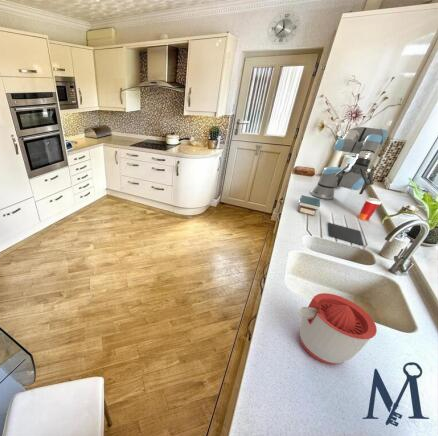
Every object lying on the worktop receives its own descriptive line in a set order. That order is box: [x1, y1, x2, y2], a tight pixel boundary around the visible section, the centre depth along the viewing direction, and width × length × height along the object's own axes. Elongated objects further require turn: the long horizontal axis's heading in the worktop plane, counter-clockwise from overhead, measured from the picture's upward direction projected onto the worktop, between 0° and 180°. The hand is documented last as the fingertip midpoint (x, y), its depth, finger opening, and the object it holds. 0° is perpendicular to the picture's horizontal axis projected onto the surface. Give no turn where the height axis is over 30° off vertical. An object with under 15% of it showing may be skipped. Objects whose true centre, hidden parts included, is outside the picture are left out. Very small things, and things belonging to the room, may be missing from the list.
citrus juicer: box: [298, 292, 377, 365], centre depth 72 cm, size 16×17×20 cm
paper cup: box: [357, 197, 382, 221], centre depth 154 cm, size 8×8×14 cm
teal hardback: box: [298, 194, 321, 211], centre depth 163 cm, size 14×12×3 cm
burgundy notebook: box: [298, 206, 317, 217], centre depth 165 cm, size 17×9×4 cm, turn 146°
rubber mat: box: [328, 222, 364, 247], centre depth 139 cm, size 18×16×1 cm
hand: (348, 190), depth 153 cm, fingers open, 13 cm apart
